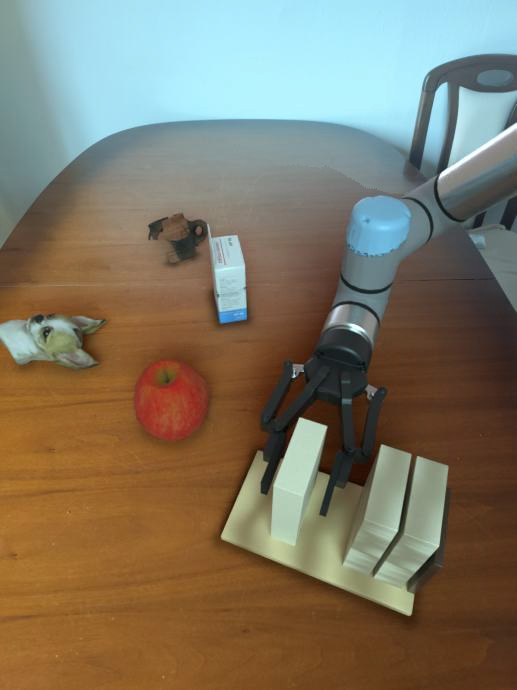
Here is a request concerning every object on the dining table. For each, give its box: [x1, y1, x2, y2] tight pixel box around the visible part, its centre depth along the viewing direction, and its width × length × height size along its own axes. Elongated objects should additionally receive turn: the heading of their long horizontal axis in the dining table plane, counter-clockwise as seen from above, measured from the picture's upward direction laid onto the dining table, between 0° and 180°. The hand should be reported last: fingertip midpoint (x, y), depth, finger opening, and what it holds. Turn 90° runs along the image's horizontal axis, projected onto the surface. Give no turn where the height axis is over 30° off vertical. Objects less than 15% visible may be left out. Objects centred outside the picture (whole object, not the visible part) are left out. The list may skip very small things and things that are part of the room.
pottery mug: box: [147, 212, 208, 264], centre depth 89 cm, size 12×10×8 cm
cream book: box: [271, 416, 329, 546], centre depth 49 cm, size 3×8×14 cm, turn 159°
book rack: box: [220, 443, 452, 617], centre depth 49 cm, size 22×12×15 cm, turn 69°
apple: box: [133, 358, 211, 442], centre depth 61 cm, size 10×10×10 cm
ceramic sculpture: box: [0, 313, 108, 371], centre depth 69 cm, size 11×9×15 cm
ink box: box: [207, 223, 248, 324], centre depth 74 cm, size 9×5×15 cm, turn 10°
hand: (293, 499), depth 48 cm, fingers open, 6 cm apart
